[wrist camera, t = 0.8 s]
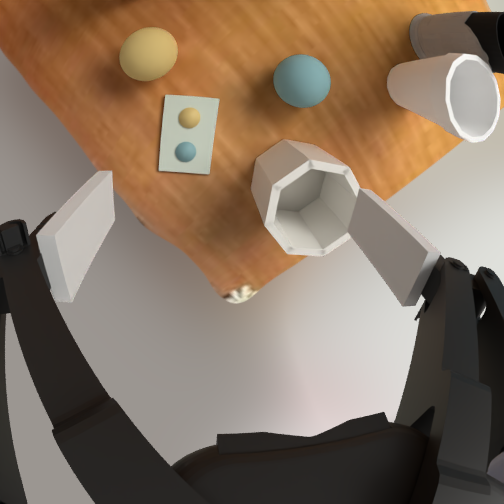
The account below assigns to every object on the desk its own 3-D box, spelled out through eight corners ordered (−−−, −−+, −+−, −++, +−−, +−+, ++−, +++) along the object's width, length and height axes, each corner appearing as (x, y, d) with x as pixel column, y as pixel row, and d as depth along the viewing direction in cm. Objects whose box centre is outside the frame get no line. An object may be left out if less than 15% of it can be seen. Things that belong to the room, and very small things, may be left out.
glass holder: (398, 28, 26) (482, 21, 13) (448, -7, 22) (522, -13, 9) (432, 80, 30) (514, 96, 17) (476, 39, 26) (549, 48, 13)
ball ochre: (132, 32, 24) (116, 23, 19) (184, 33, 25) (179, 22, 20) (124, 81, 27) (108, 81, 22) (176, 82, 28) (169, 81, 23)
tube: (259, 135, 33) (278, 154, 24) (335, 148, 34) (374, 172, 26) (246, 210, 37) (259, 252, 29) (317, 217, 39) (346, 258, 31)
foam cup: (363, 83, 30) (430, 91, 19) (400, 39, 27) (471, 36, 16) (407, 132, 34) (473, 160, 23) (440, 89, 31) (508, 105, 20)
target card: (165, 94, 29) (165, 94, 28) (219, 98, 30) (219, 98, 29) (159, 169, 33) (158, 171, 33) (209, 173, 34) (209, 174, 34)
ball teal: (273, 52, 27) (286, 45, 22) (323, 63, 29) (344, 61, 24) (264, 100, 30) (275, 103, 25) (314, 110, 32) (333, 115, 27)
